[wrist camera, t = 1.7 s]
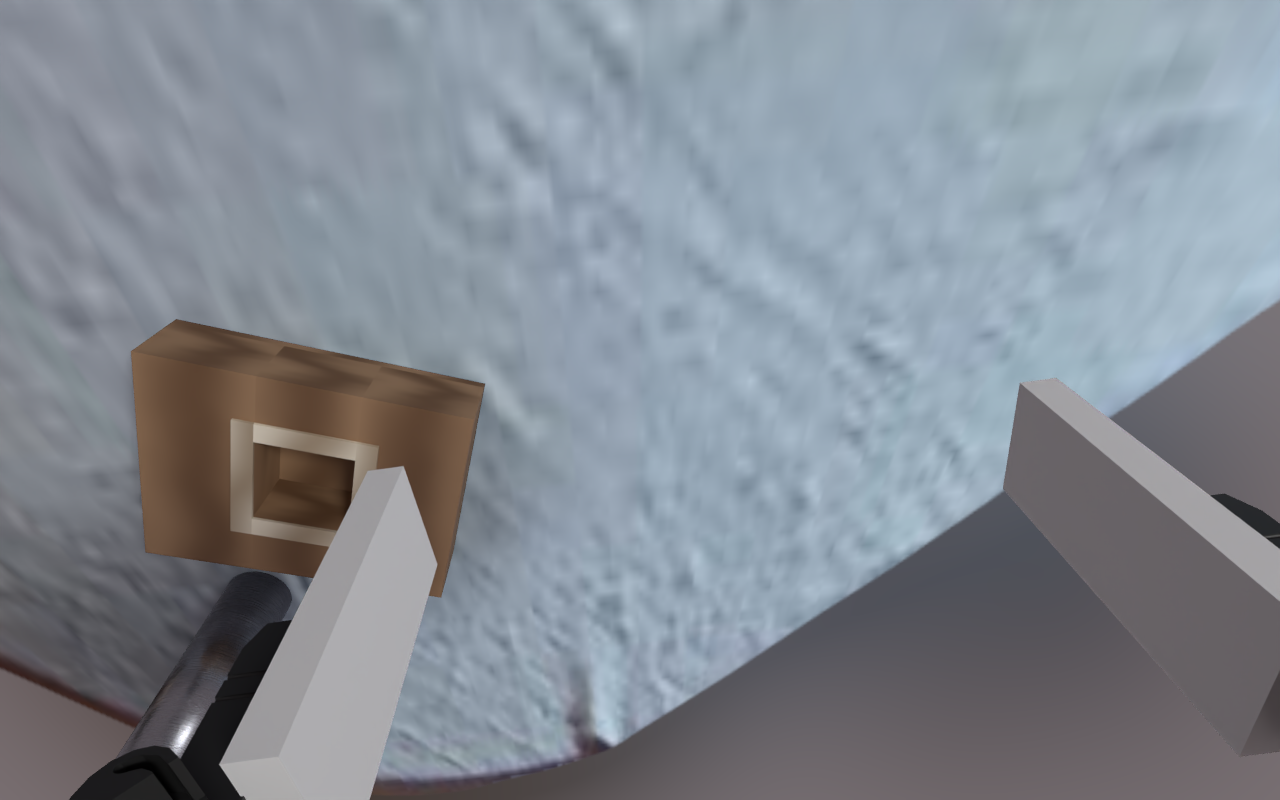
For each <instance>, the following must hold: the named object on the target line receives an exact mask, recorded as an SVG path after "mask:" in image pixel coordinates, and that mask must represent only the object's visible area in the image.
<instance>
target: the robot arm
mask: <svg viewBox="0 0 1280 800" xmlns="http://www.w3.org/2000/svg"><path fill="white" fill-rule="evenodd" d="M1003 489H1004V490H1005V492H1006V493H1007V494H1008V495H1009V496H1010V497H1011V498H1012V499H1013V501H1014V502H1015V503H1016V504H1017V505H1018V506H1019V508H1020V509H1021V510H1022V511H1023V512H1024V513H1025V514H1026V515H1027V516H1028V518H1029V519H1030V520H1031V521H1032V522H1033V523H1034V525H1035V526H1036V527H1037V528H1038V529H1039V530H1040V531H1041V532H1042V534H1043V535H1044V536H1045V537H1046V538H1047V539H1048V540H1049V542H1050V543H1051V544H1052V545H1053V546H1054V547H1055V548H1056V549H1057V551H1058V552H1059V553H1060V554H1061V555H1062V556H1063V557H1064V559H1066V561H1067V562H1068V563H1069V564H1070V565H1071V567H1072V568H1073V569H1074V570H1075V571H1076V572H1077V573H1078V574H1079V575H1080V577H1081V578H1082V579H1083V580H1084V581H1085V582H1086V584H1087V585H1088V586H1089V587H1090V588H1091V589H1092V590H1093V591H1094V593H1095V594H1096V595H1097V596H1098V597H1099V598H1100V599H1101V601H1102V602H1103V603H1104V604H1105V605H1106V606H1107V607H1108V609H1109V610H1110V611H1111V612H1112V613H1113V614H1114V615H1115V616H1116V617H1117V619H1118V620H1119V621H1120V622H1121V623H1122V624H1123V626H1124V627H1125V628H1126V629H1127V630H1128V631H1129V632H1130V633H1131V635H1132V636H1133V637H1134V638H1135V639H1136V640H1137V641H1138V643H1139V644H1140V645H1141V646H1142V647H1143V648H1144V649H1145V650H1146V652H1147V653H1148V654H1149V655H1150V656H1151V657H1152V658H1153V660H1154V661H1155V662H1156V663H1157V664H1158V665H1159V666H1160V667H1161V669H1162V670H1163V671H1164V672H1165V673H1166V674H1167V675H1168V677H1169V678H1170V679H1171V680H1172V681H1173V682H1174V683H1175V685H1176V686H1177V687H1178V688H1179V689H1180V690H1181V691H1182V692H1183V694H1184V695H1185V696H1186V697H1187V698H1188V699H1189V700H1190V702H1191V703H1192V704H1193V705H1194V706H1195V707H1196V708H1197V710H1198V711H1199V712H1200V713H1201V714H1202V715H1203V716H1204V717H1205V719H1206V720H1207V721H1208V722H1209V723H1210V724H1211V725H1212V726H1213V728H1214V729H1215V730H1216V731H1217V732H1218V733H1219V735H1220V736H1221V737H1222V738H1223V739H1224V740H1225V741H1226V742H1227V744H1228V745H1229V746H1230V747H1231V748H1232V749H1233V750H1234V751H1235V753H1236V754H1237V755H1238V756H1239V757H1241V756H1248V755H1256V754H1264V753H1272V752H1279V751H1280V524H1279V523H1278V522H1277V521H1275V520H1274V519H1273V518H1271V517H1270V516H1269V515H1267V514H1266V513H1264V512H1263V511H1261V510H1259V509H1257V508H1255V507H1253V506H1251V505H1248V504H1246V503H1244V502H1242V501H1240V500H1237V499H1235V498H1233V497H1231V496H1229V495H1226V494H1218V495H1211V496H1210V495H1208V494H1207V493H1206V492H1204V491H1203V490H1202V489H1201V488H1199V487H1198V486H1197V485H1195V484H1194V483H1193V482H1191V481H1190V480H1189V479H1187V478H1186V477H1185V476H1184V475H1182V474H1181V473H1180V472H1178V471H1177V470H1176V469H1174V468H1173V467H1172V466H1171V465H1169V464H1168V463H1166V462H1165V461H1164V460H1163V459H1161V458H1160V457H1159V456H1157V455H1156V454H1155V453H1153V452H1152V451H1151V450H1149V449H1148V448H1147V447H1146V446H1144V445H1143V444H1142V443H1140V442H1139V441H1138V440H1137V439H1135V438H1134V437H1132V436H1131V435H1130V434H1129V433H1127V432H1126V431H1125V430H1123V429H1122V428H1121V427H1119V426H1118V425H1117V424H1116V423H1114V422H1113V421H1112V420H1110V419H1109V418H1108V417H1107V416H1105V415H1104V414H1103V413H1101V412H1100V411H1099V410H1097V409H1096V408H1095V407H1093V406H1092V405H1091V404H1090V403H1088V402H1087V401H1086V400H1084V399H1083V398H1082V397H1080V396H1079V395H1078V394H1076V393H1075V392H1074V391H1073V390H1071V389H1070V388H1069V387H1067V386H1066V385H1065V384H1063V383H1062V382H1061V381H1059V380H1058V379H1057V378H1052V379H1045V380H1037V381H1030V382H1023V383H1020V386H1019V392H1018V398H1017V404H1016V411H1015V417H1014V423H1013V429H1012V435H1011V442H1010V448H1009V454H1008V460H1007V466H1006V473H1005V479H1004V485H1003ZM436 568H437V562H436V559H435V556H434V553H433V550H432V547H431V544H430V541H429V538H428V536H427V533H426V530H425V527H424V524H423V521H422V518H421V515H420V512H419V509H418V507H417V504H416V501H415V498H414V495H413V492H412V489H411V486H410V483H409V481H408V478H407V475H406V472H405V469H404V466H400V467H393V468H386V469H378V470H371V471H367V473H366V475H365V477H364V479H363V481H362V483H361V485H360V487H359V489H358V491H357V493H356V495H355V497H354V499H353V501H352V503H351V505H350V507H349V509H348V511H347V513H346V515H345V517H344V519H343V521H342V523H341V525H340V527H339V529H338V531H337V533H336V535H335V537H334V539H333V541H332V543H331V545H330V547H329V549H328V551H327V553H326V554H325V556H324V558H323V560H322V562H321V564H320V566H319V568H318V570H317V572H316V574H315V576H314V578H313V580H312V582H311V584H310V586H309V588H308V590H307V592H306V594H305V596H304V598H303V600H302V602H301V604H300V606H299V608H298V610H297V612H296V614H295V616H294V618H293V620H289V621H282V622H274V623H267V624H266V625H265V626H264V627H263V628H262V629H261V630H260V631H259V632H258V633H257V634H256V635H255V636H254V637H253V638H252V639H251V640H250V641H249V642H248V643H247V644H246V645H245V646H244V647H243V648H242V650H241V652H240V654H239V655H238V657H237V659H236V661H235V662H234V664H233V666H232V668H231V670H230V671H229V673H228V675H227V676H228V679H227V680H224V682H223V684H222V686H221V687H220V689H219V691H218V693H217V694H216V696H215V703H211V705H210V707H209V709H208V710H207V712H206V714H205V716H204V718H203V719H202V721H201V723H200V725H199V726H198V728H197V730H196V732H195V734H194V735H193V737H192V739H191V741H190V742H189V744H188V746H187V748H186V750H185V751H184V753H183V755H182V757H181V758H180V759H179V757H178V756H177V755H176V754H175V753H174V752H173V751H172V750H171V749H170V748H168V747H161V746H155V745H154V746H149V747H145V748H140V749H136V750H133V751H131V752H129V753H127V754H125V755H123V756H120V757H118V758H116V759H114V760H112V761H111V762H109V763H108V764H107V765H105V766H104V767H102V768H101V769H100V770H98V771H97V772H96V773H94V774H93V775H92V776H90V777H89V778H88V779H87V780H86V781H85V783H84V784H83V785H82V786H81V787H80V788H79V789H78V790H77V791H76V792H75V793H74V794H73V795H72V796H71V798H70V800H369V799H370V796H371V793H372V789H373V786H374V782H375V779H376V775H377V772H378V768H379V765H380V761H381V758H382V755H383V751H384V748H385V744H386V741H387V737H388V734H389V730H390V727H391V723H392V720H393V717H394V713H395V710H396V706H397V703H398V699H399V696H400V692H401V689H402V685H403V682H404V678H405V675H406V672H407V668H408V665H409V661H410V658H411V654H412V651H413V647H414V644H415V640H416V637H417V634H418V630H419V627H420V623H421V620H422V616H423V613H424V609H425V606H426V602H427V599H428V595H429V592H430V589H431V585H432V582H433V578H434V575H435V571H436Z"/></svg>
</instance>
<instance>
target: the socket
mask: <svg viewBox="0 0 1280 800" xmlns="http://www.w3.org/2000/svg"><path fill="white" fill-rule="evenodd" d="M131 357H132V371H133V385H134V398H135V412H136V426H137V440H138V454H139V468H140V482H141V496H142V510H143V524H144V537H145V551H146V552H147V553H154V554H160V555H167V556H173V557H180V558H186V559H193V560H199V561H206V562H212V563H219V564H225V565H232V566H239V567H245V568H252V569H258V570H265V571H271V572H278V573H284V574H291V575H297V576H304V577H310V578H314V576H315V574H316V572H317V570H318V568H319V566H320V564H321V562H322V560H323V558H324V556H325V554H326V553H327V551H328V549H329V547H330V545H331V543H332V541H333V539H334V537H335V535H336V533H337V531H338V529H339V527H340V525H341V523H342V521H343V519H344V517H345V515H346V513H347V511H348V509H349V507H350V505H351V503H352V501H353V499H354V497H355V495H356V493H357V491H358V489H359V487H360V485H361V483H362V481H363V479H364V477H365V475H366V473H367V471H371V470H378V469H386V468H393V467H400V466H404V469H405V472H406V475H407V478H408V481H409V483H410V486H411V489H412V492H413V495H414V498H415V501H416V504H417V507H418V509H419V512H420V515H421V518H422V521H423V524H424V527H425V530H426V533H427V536H428V538H429V541H430V544H431V547H432V550H433V553H434V556H435V559H436V562H437V568H436V571H435V575H434V578H433V582H432V585H431V589H430V592H429V595H428V596H435V597H441V596H442V592H443V588H444V584H445V581H446V577H447V573H448V569H449V566H450V562H451V558H452V554H453V550H454V545H455V539H456V534H457V529H458V523H459V518H460V513H461V508H462V502H463V497H464V492H465V487H466V481H467V476H468V471H469V465H470V460H471V455H472V450H473V444H474V439H475V434H476V429H477V423H478V418H479V413H480V407H481V402H482V397H483V392H484V386H485V384H483V383H479V382H474V381H469V380H464V379H459V378H455V377H450V376H445V375H440V374H435V373H431V372H426V371H421V370H416V369H412V368H407V367H402V366H397V365H392V364H388V363H383V362H378V361H373V360H368V359H364V358H359V357H354V356H349V355H345V354H340V353H335V352H330V351H325V350H321V349H316V348H311V347H306V346H301V345H297V344H292V343H287V342H282V341H278V340H273V339H268V338H263V337H258V336H254V335H249V334H244V333H239V332H234V331H230V330H225V329H220V328H215V327H211V326H206V325H201V324H196V323H191V322H187V321H182V320H177V319H176V320H175V321H173V322H172V323H170V324H169V325H167V326H166V327H165V328H163V329H162V330H160V331H159V332H158V333H156V334H155V335H153V336H152V337H151V338H149V339H148V340H146V341H145V342H143V343H142V344H141V345H139V346H138V347H136V348H135V349H134V350H132V351H131Z"/></svg>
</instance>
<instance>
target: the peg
mask: <svg viewBox="0 0 1280 800" xmlns="http://www.w3.org/2000/svg"><path fill="white" fill-rule="evenodd" d="M291 600H292V596H291V593H290V590H289V589H288V587H287V586H286V585H285V584H284V583H283V582H282V581H281V580H279V579H278V578H276V577H274V576H272V575H269V574H266V573H261V572H247V573H243V574H240V575H238V576H236V577H235V578H233V579H232V580H231V582H230V583H229V585H228V586H227V588H226V589H225V591H224V592H223V594H222V596H221V597H220V599H219V600H218V602H217V603H216V605H215V606H214V608H213V609H212V611H211V613H210V614H209V616H208V617H207V619H206V620H205V622H204V623H203V625H202V626H201V628H200V629H199V631H198V633H197V634H196V636H195V637H194V639H193V640H192V642H191V643H190V645H189V646H188V648H187V649H186V651H185V653H184V654H183V656H182V657H181V659H180V660H179V662H178V663H177V665H176V666H175V668H174V669H173V671H172V673H171V674H170V676H169V677H168V679H167V680H166V682H165V683H164V685H163V686H162V688H161V689H160V691H159V693H158V694H157V696H156V697H155V699H154V700H153V702H152V703H151V705H150V706H149V708H148V710H147V711H146V713H145V714H144V716H143V717H142V719H141V720H140V722H139V723H138V725H137V726H136V728H135V730H134V731H133V733H132V734H131V736H130V737H129V739H128V740H127V742H126V743H125V745H124V746H123V748H122V750H121V751H120V753H119V754H118V756H117V757H116V758H118V757H120V756H123V755H125V754H127V753H129V752H131V751H133V750H136V749H140V748H145V747H149V746H154V745H155V746H161V747H168V748H170V749H171V750H172V751H173V752H174V753H175V754H176V755H177V756H178V757H179V759H180V758H181V757H182V755H183V753H184V751H185V750H186V748H187V746H188V744H189V742H190V741H191V739H192V737H193V735H194V734H195V732H196V730H197V728H198V726H199V725H200V723H201V721H202V719H203V718H204V716H205V714H206V712H207V710H208V709H209V707H210V705H211V703H215V696H216V694H217V693H218V691H219V689H220V687H221V686H222V684H223V682H224V680H227V679H228V676H227V675H228V673H229V671H230V670H231V668H232V666H233V664H234V662H235V661H236V659H237V657H238V655H239V654H240V652H241V650H242V648H243V647H244V646H245V645H246V644H247V643H248V642H249V641H250V640H251V639H252V638H253V637H254V636H255V635H256V634H257V633H258V632H259V631H260V630H261V629H262V628H263V627H264V626H265V625H266V624H267V623H274V622H282V620H283V618H284V616H285V614H286V612H287V610H288V608H289V606H290V604H291Z"/></svg>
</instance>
